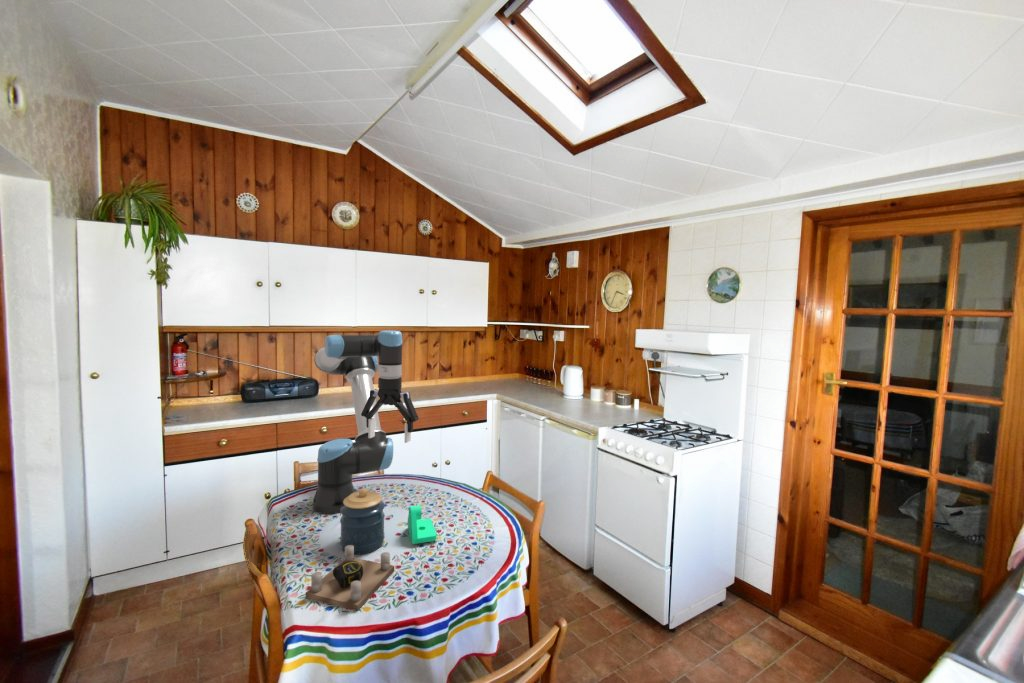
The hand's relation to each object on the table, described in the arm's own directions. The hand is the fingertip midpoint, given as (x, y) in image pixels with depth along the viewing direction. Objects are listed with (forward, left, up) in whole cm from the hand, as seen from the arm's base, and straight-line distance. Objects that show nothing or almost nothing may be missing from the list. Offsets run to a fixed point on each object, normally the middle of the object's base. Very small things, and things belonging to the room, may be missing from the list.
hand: (389, 439), depth 149 cm
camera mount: (+15, -5, -29) cm, 33 cm away
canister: (0, -15, -29) cm, 33 cm away
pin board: (+9, -33, -29) cm, 45 cm away
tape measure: (+9, -35, -27) cm, 45 cm away
